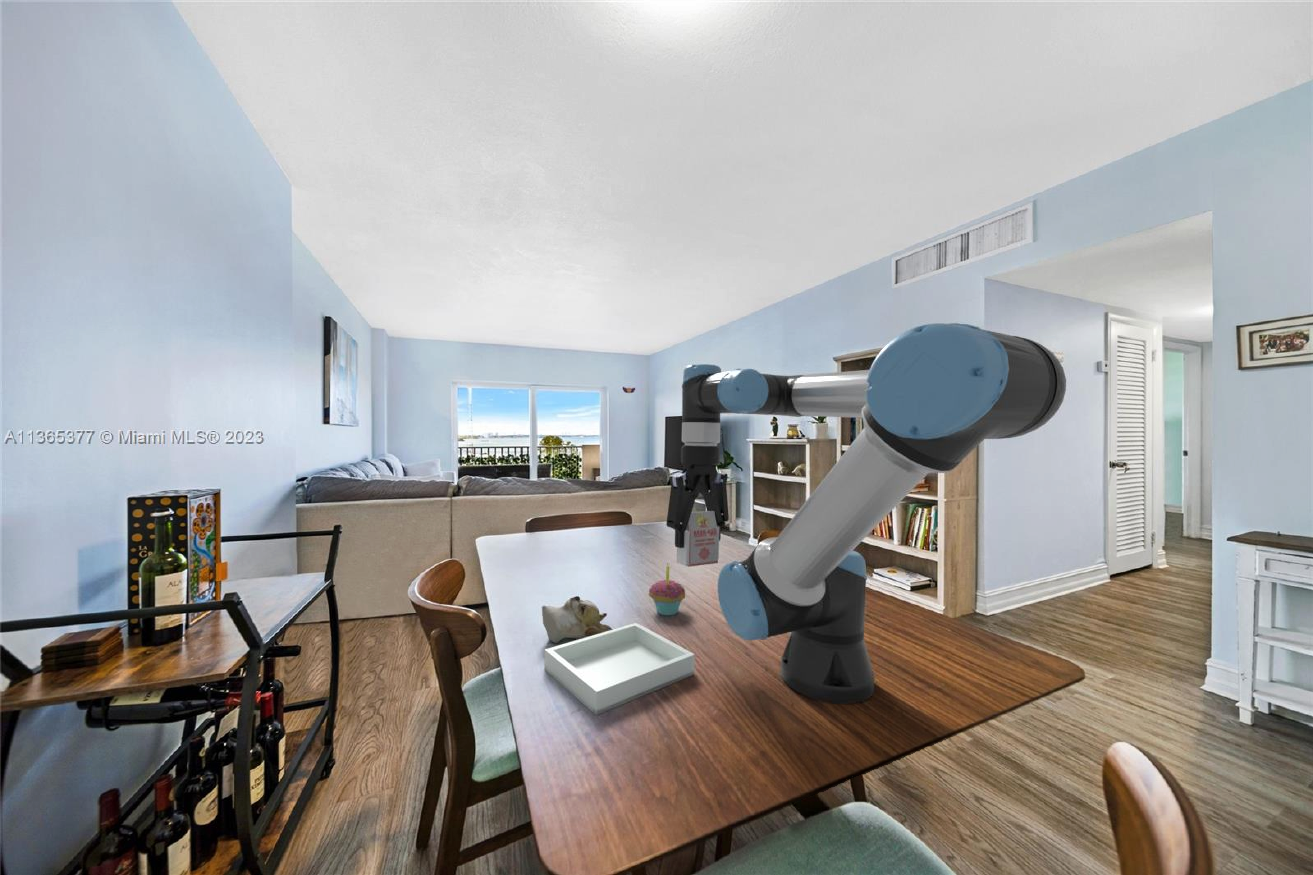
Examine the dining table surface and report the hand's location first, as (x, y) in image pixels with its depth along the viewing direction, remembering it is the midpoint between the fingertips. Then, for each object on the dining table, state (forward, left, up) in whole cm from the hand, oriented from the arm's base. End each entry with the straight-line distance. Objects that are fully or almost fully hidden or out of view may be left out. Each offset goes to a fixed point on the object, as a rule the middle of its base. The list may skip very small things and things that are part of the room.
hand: (697, 560), depth 95 cm
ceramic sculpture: (+17, +16, -17) cm, 30 cm away
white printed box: (0, 0, -1) cm, 1 cm away
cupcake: (+17, -7, -17) cm, 25 cm away
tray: (+1, +18, -17) cm, 25 cm away
